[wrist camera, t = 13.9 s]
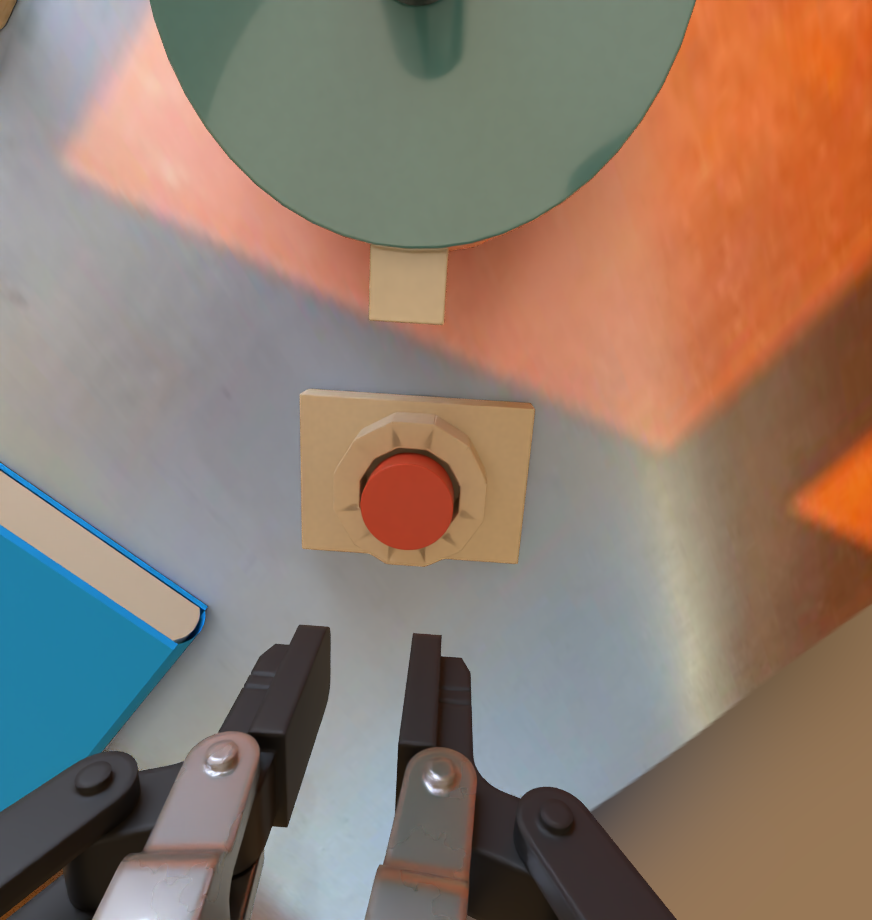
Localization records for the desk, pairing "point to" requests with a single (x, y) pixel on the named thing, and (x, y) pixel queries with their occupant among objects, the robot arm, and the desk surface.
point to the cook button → (408, 501)
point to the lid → (421, 103)
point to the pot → (409, 284)
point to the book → (74, 636)
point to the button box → (424, 432)
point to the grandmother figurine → (5, 11)
